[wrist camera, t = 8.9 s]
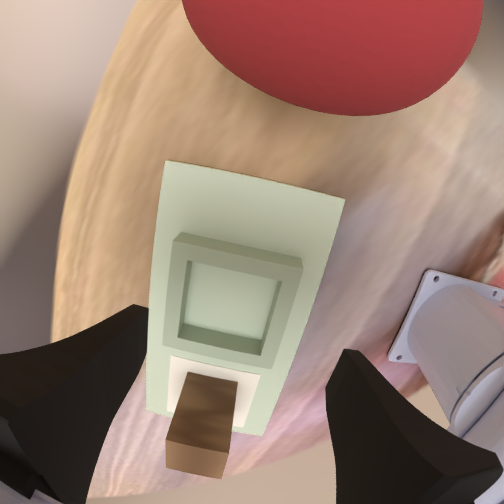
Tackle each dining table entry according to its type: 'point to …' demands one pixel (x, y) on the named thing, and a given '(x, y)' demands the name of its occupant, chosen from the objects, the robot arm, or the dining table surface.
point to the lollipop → (340, 48)
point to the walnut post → (202, 426)
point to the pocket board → (233, 284)
